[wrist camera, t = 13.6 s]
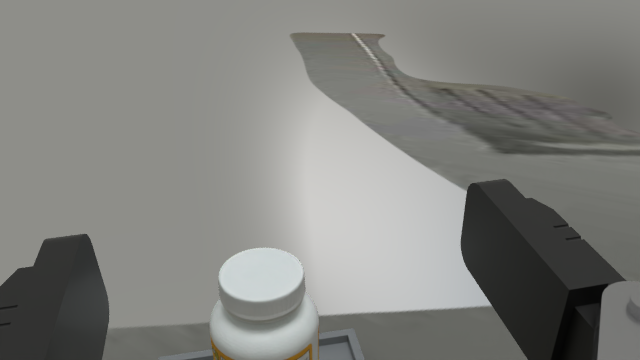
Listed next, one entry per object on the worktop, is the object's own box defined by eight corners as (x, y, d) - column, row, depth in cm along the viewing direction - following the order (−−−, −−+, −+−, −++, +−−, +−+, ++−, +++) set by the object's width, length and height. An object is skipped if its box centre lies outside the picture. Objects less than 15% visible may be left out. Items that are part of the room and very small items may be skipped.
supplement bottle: (297, 470, 27) (291, 325, 22) (202, 437, 29) (178, 296, 24) (333, 387, 31) (334, 251, 27) (249, 362, 33) (236, 230, 28)
